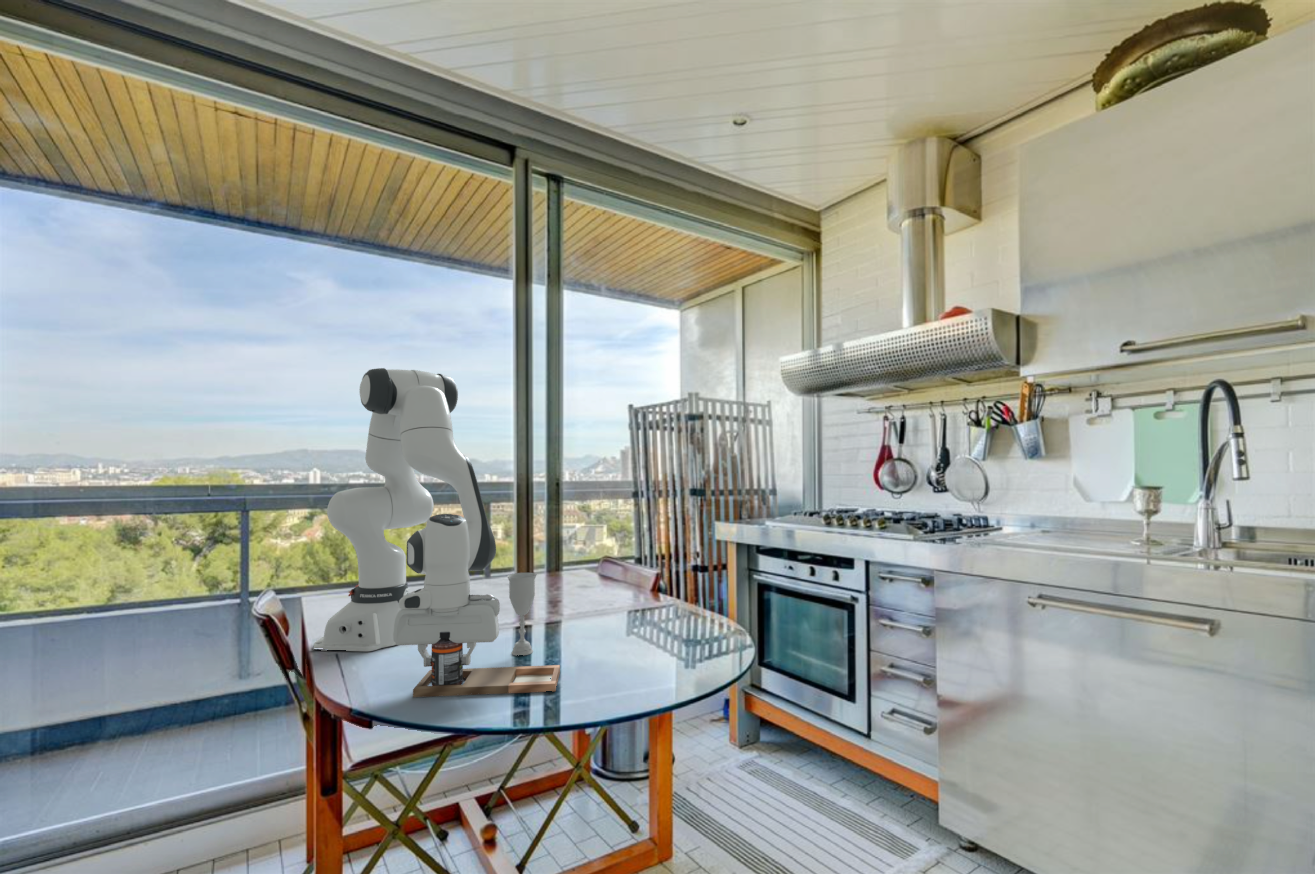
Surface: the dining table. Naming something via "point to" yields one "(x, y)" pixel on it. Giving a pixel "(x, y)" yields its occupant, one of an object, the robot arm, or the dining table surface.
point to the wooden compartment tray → (494, 681)
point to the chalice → (522, 605)
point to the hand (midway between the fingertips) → (447, 665)
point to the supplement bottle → (447, 661)
